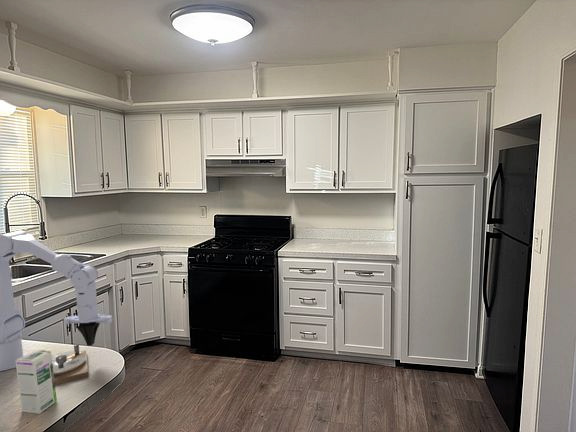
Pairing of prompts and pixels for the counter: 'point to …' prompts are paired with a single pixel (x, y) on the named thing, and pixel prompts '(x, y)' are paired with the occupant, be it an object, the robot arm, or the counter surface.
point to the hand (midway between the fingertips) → (90, 344)
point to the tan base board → (73, 373)
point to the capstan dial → (67, 361)
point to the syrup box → (36, 381)
